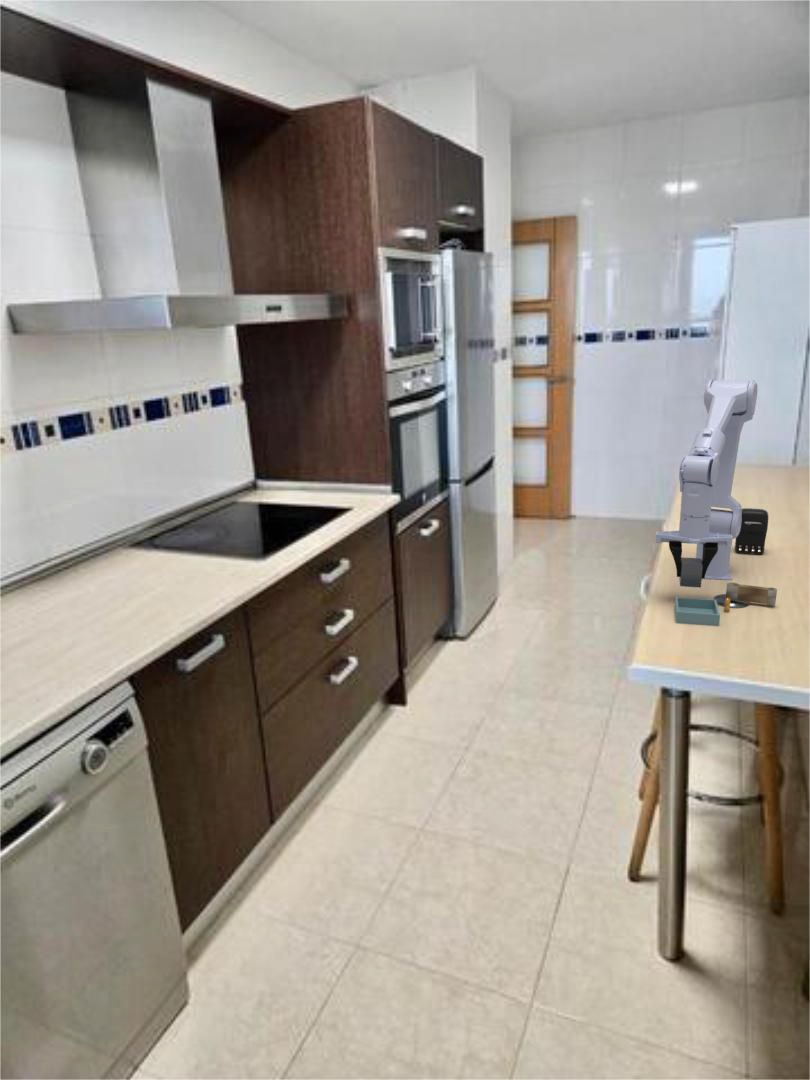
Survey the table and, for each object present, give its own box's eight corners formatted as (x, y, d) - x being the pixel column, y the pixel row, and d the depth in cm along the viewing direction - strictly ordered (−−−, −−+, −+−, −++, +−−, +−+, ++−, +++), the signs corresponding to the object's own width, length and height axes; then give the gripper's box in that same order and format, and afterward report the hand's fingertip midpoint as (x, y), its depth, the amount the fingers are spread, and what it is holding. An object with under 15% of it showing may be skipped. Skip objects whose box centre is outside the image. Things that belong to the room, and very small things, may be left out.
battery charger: (733, 554, 173) (738, 510, 170) (733, 550, 177) (737, 506, 173) (765, 557, 171) (770, 512, 167) (764, 552, 174) (769, 508, 170)
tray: (674, 607, 145) (675, 596, 144) (715, 610, 143) (716, 599, 142) (676, 622, 138) (676, 611, 137) (718, 626, 136) (720, 615, 135)
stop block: (679, 579, 149) (680, 557, 148) (699, 580, 148) (701, 558, 146) (680, 586, 145) (681, 563, 144) (700, 587, 144) (702, 565, 143)
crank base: (711, 594, 150) (713, 581, 150) (747, 597, 148) (748, 584, 147) (716, 612, 142) (717, 598, 141) (754, 615, 140) (755, 601, 139)
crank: (725, 600, 146) (726, 585, 145) (726, 595, 148) (727, 581, 147) (775, 606, 141) (777, 591, 140) (775, 602, 143) (777, 587, 142)
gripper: (657, 518, 141) (654, 580, 145) (736, 520, 136) (730, 585, 140) (657, 508, 147) (653, 568, 151) (732, 511, 143) (726, 573, 147)
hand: (690, 576), depth 146 cm, fingers closed on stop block, 4 cm apart
